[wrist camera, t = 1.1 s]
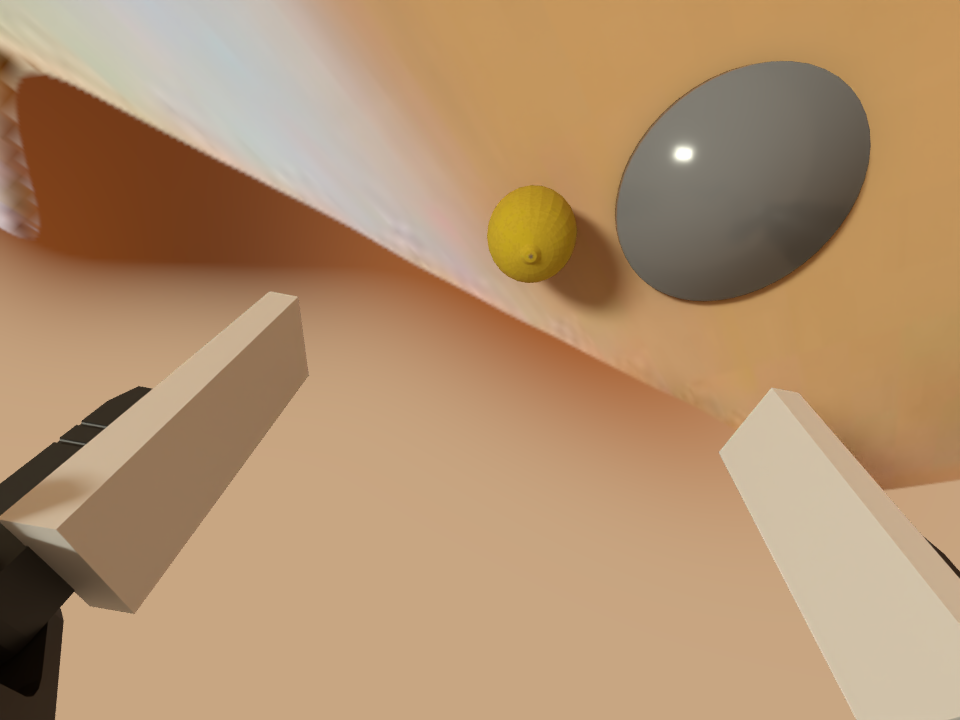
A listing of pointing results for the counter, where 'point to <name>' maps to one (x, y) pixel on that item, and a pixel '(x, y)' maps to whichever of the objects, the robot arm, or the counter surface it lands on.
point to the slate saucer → (742, 180)
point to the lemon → (532, 234)
